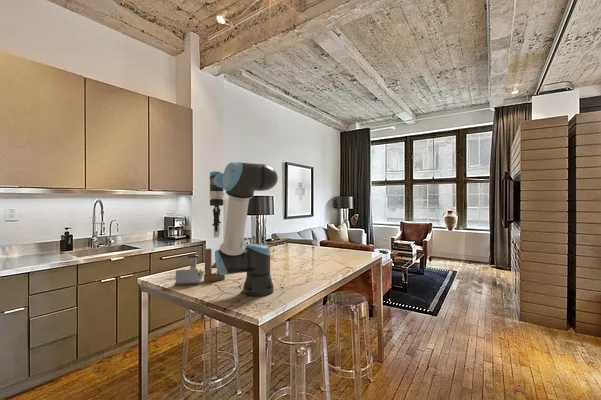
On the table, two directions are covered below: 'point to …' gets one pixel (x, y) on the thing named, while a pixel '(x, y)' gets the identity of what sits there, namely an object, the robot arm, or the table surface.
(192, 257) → the ram
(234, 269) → the robot arm
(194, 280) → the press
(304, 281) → the table surface
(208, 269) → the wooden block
